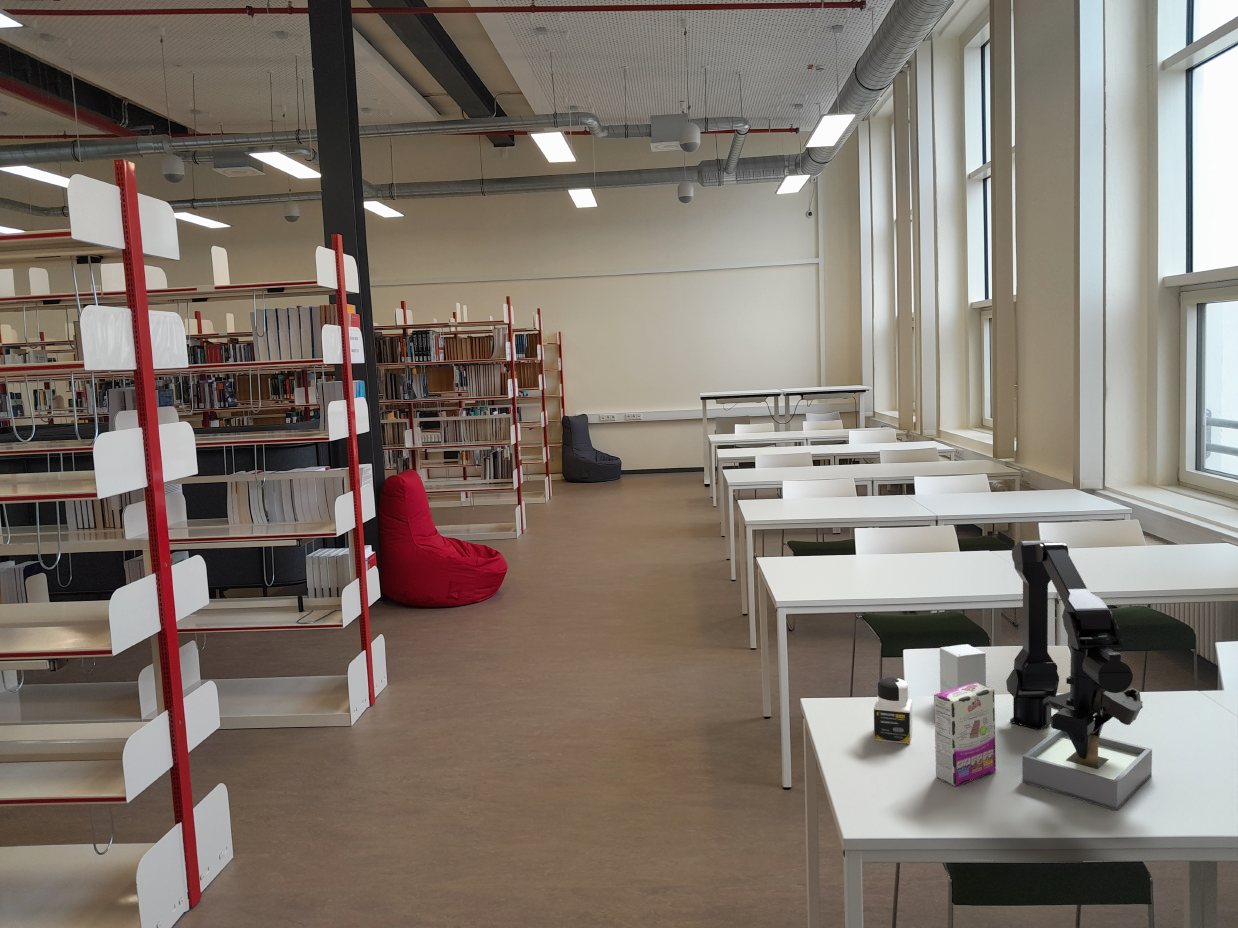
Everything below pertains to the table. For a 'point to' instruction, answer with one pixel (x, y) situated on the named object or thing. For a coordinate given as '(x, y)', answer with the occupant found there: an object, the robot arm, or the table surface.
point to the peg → (1090, 754)
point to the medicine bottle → (893, 712)
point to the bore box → (1088, 770)
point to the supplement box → (961, 666)
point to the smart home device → (1062, 701)
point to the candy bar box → (965, 733)
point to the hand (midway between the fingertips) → (1087, 754)
